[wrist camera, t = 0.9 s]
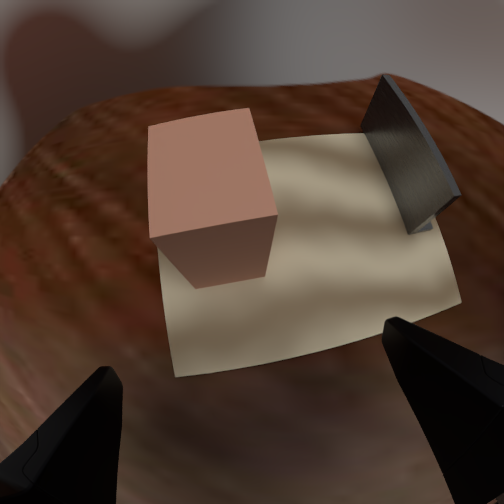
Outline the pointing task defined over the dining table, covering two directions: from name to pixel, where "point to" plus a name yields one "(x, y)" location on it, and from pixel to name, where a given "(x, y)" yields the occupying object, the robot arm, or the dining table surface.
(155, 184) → the salmon pink rectangular block
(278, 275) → the beige cloth placemat
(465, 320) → the dining table surface
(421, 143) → the bookend
